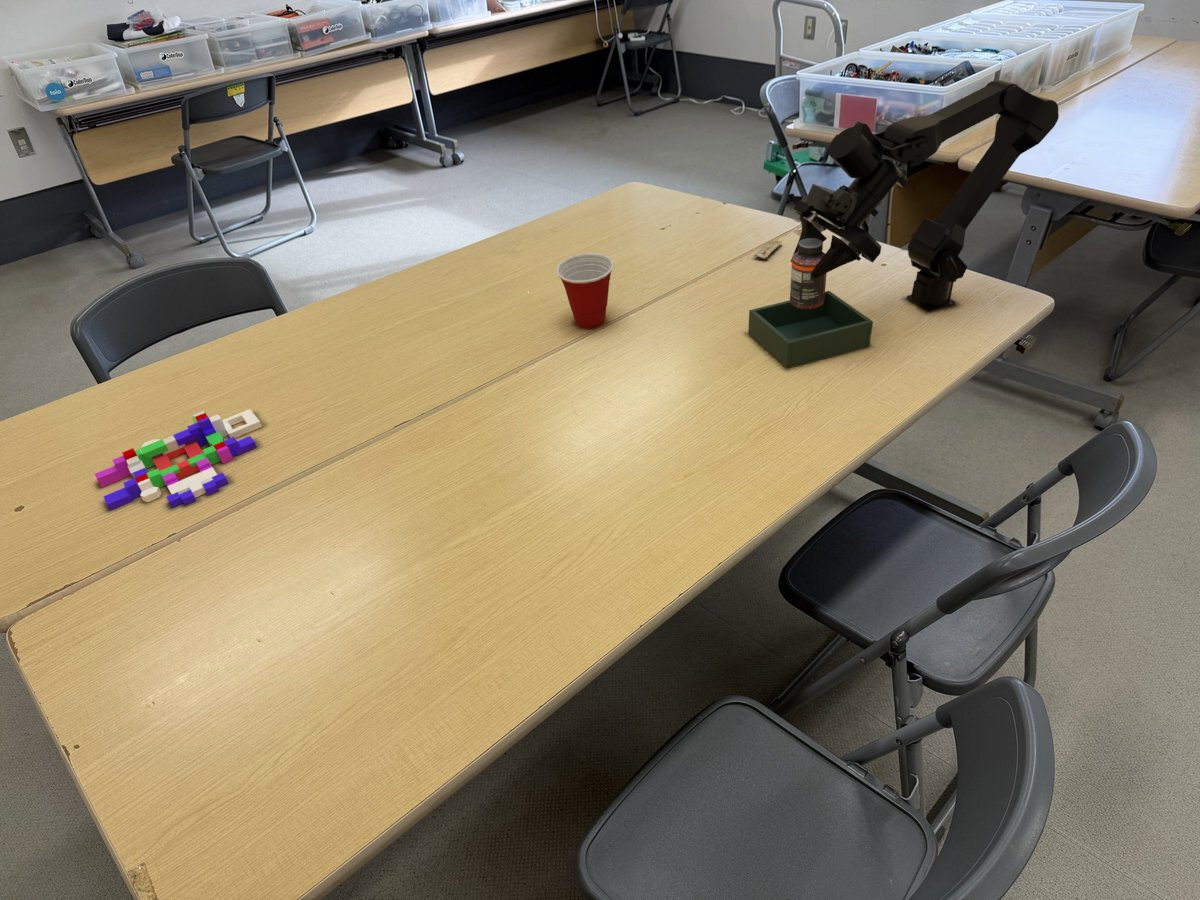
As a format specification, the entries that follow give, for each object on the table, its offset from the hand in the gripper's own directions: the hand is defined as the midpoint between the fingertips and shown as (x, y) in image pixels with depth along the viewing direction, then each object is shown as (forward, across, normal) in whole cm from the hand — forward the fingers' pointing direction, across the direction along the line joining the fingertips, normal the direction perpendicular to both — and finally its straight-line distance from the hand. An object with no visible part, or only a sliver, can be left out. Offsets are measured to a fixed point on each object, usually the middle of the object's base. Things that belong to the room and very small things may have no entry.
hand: (802, 270), depth 134 cm
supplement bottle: (+4, 0, +6) cm, 7 cm away
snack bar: (-1, -35, +20) cm, 40 cm away
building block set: (+83, -10, -65) cm, 106 cm away
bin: (+9, +2, +10) cm, 13 cm away
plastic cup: (+32, -24, -13) cm, 42 cm away
